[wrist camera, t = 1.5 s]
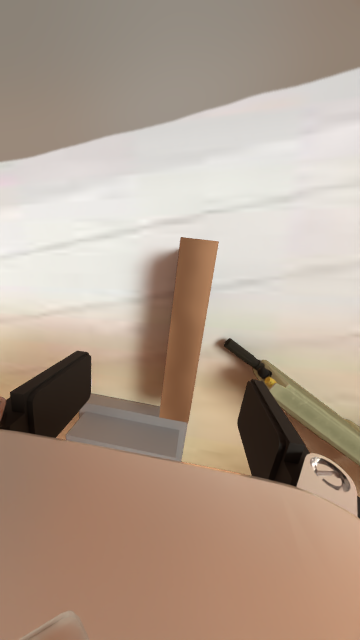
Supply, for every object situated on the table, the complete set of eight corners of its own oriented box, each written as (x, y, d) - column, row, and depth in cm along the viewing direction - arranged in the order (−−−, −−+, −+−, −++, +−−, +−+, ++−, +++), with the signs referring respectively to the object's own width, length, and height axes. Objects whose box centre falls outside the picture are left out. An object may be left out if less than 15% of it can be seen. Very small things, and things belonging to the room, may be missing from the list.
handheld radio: (352, 450, 25) (216, 348, 24) (371, 435, 25) (232, 329, 23) (408, 507, 19) (224, 371, 17) (435, 489, 18) (247, 347, 17)
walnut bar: (213, 251, 21) (218, 241, 16) (190, 393, 26) (188, 422, 21) (185, 247, 22) (180, 237, 16) (167, 389, 26) (159, 417, 21)
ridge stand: (188, 412, 26) (184, 467, 19) (179, 463, 29) (172, 531, 21) (87, 392, 28) (44, 437, 20) (87, 443, 30) (48, 501, 22)
